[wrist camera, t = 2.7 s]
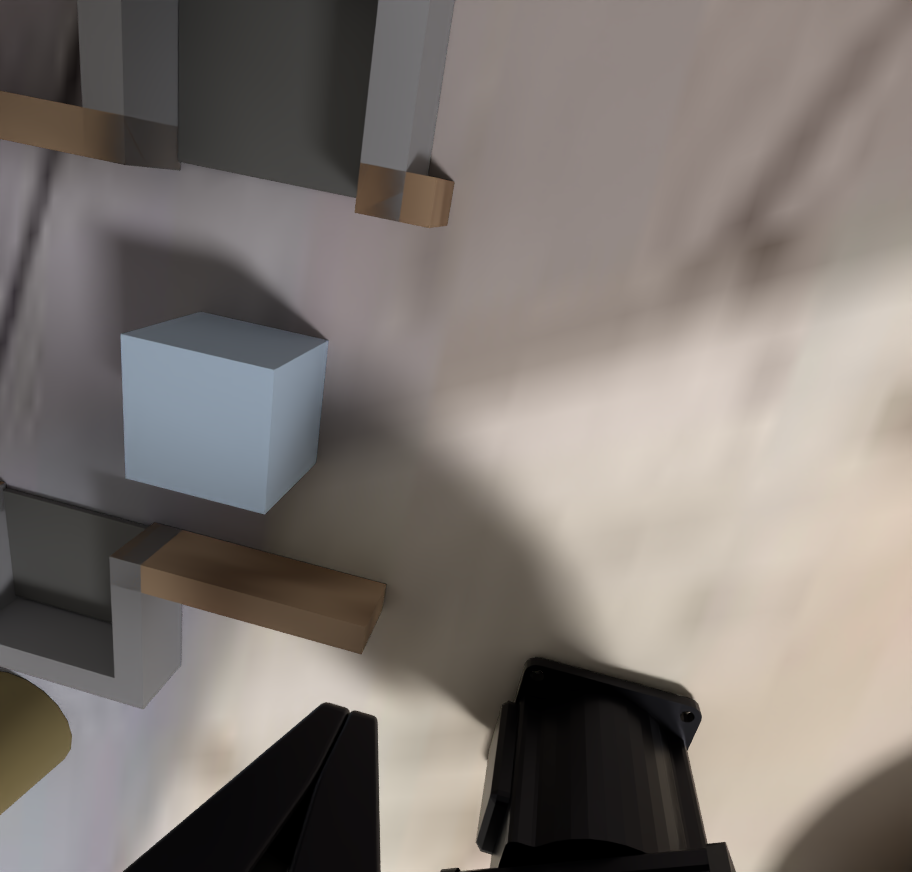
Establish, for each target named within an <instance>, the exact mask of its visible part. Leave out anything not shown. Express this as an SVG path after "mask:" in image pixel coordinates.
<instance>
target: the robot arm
mask: <svg viewBox="0 0 912 872" xmlns="http://www.w3.org/2000/svg"><path fill="white" fill-rule="evenodd" d="M535 670H539V671H541V672H543V673H540V674H539V673H535V672H533V671H535ZM685 711H688V712H690V713H688V714H683V713H682V712H685ZM701 719H702V715H701V711H700V708H699V705H698V703H697V702H696V701H695V700H692V699H690V698H687V697H683V696H679V695H676V694H672V693H668V692H665V691H661V690H657V689H654V688H650V687H646V686H643V685H639V684H635V683H632V682H628V681H624V680H621V679H617V678H613V677H610V676H606V675H602V674H599V673H595V672H591V671H588V670H584V669H580V668H577V667H573V666H569V665H566V664H562V663H558V662H555V661H551V660H547V659H544V658H538V657H535V658H531V659H529V660H528V661H527V662H526V664H525V666H524V669H523V673H522V676H521V680H520V683H519V686H518V690H517V693H516V697H515V700H514V702H511V701H507V702H506V703H504V704H503V705H502V707H501V710H500V714H499V717H498V721H497V724H496V728H495V731H494V735H493V738H492V742H491V745H490V749H489V756H488V762H487V769H486V776H485V783H484V790H483V797H482V804H481V810H480V817H479V824H478V831H477V838H476V843H477V845H478V847H479V849H480V851H482V852H485V853H488V854H492V856H491V865H490V868H488V869H478V870H467V871H460V869H459V868H451V869H442V870H441V871H440V872H736V871H735V868H734V865H733V862H732V859H731V856H730V853H729V850H728V848H727V845H726V842H721V843H711V844H707V839H706V834H705V830H704V825H703V821H702V816H701V812H700V807H699V802H698V798H697V793H696V789H695V784H694V780H693V775H692V771H691V766H690V761H689V757H688V752H687V750H688V748H689V746H690V744H691V742H692V739H693V737H694V735H695V733H696V731H697V729H698V726H699V724H700V722H701ZM123 872H381V870H380V819H379V768H378V722H377V718H376V717H375V716H373V715H370V714H366V713H363V712H359V711H352V712H351V713H350V712H349V710H348V709H347V708H345V707H342V706H339V705H335V704H332V703H327V702H326V703H323V704H321V705H320V706H318V707H317V708H316V709H315V710H314V711H312V712H311V713H310V714H309V715H308V716H306V717H305V718H304V719H303V720H302V721H301V722H299V723H298V724H297V725H296V726H295V727H293V728H292V729H291V730H290V731H289V732H287V733H286V734H285V735H284V736H283V737H282V738H280V739H279V740H278V741H277V742H276V743H274V744H273V745H272V746H271V747H270V748H269V749H267V750H266V751H265V752H264V753H263V754H261V755H260V756H259V757H258V758H257V759H256V760H254V761H253V762H252V763H251V764H250V765H248V766H247V767H246V768H245V769H244V770H242V771H241V772H240V773H239V774H238V775H237V776H235V777H234V778H233V779H232V780H231V781H229V782H228V783H227V784H226V785H225V786H224V787H222V788H221V789H220V790H219V791H218V792H216V793H215V794H214V795H213V796H212V797H211V798H209V799H208V800H207V801H206V802H205V803H203V804H202V805H201V806H200V807H199V808H198V809H196V810H195V811H194V812H193V813H192V814H190V815H189V816H188V817H187V818H186V819H184V820H183V821H182V822H181V823H180V824H179V825H177V826H176V827H175V828H174V829H173V830H171V831H170V832H169V833H168V834H167V835H166V836H164V837H163V838H162V839H161V840H160V841H158V842H157V843H156V844H155V845H154V846H153V847H151V848H150V849H149V850H148V851H147V852H145V853H144V854H143V855H142V856H141V857H139V858H138V859H137V860H136V861H135V862H134V863H132V864H131V865H130V866H129V867H128V868H126V869H125V870H124V871H123Z"/></svg>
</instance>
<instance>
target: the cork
mask: <svg viewBox="0 0 912 872" xmlns="http://www.w3.org/2000/svg"><path fill="white" fill-rule="evenodd" d="M71 740H72V735H71V731H70V728H69V725H68V721H67V720H66V718H65V716H64V715H63V713H62V712H61V710H60V709H59V707H58V705H57V704H56V703H55V702H54V701H53V700H52V699H51V698H50V697H49V696H48V695H47V694H46V693H45V692H44V691H42V690H41V689H39V688H38V687H36V686H35V685H33V684H32V683H30V682H29V681H27V680H25V679H23V678H20V677H18V676H15V675H13V674H10V673H7V672H0V815H1V814H2V813H3V812H4V811H5V810H6V809H8V808H9V807H10V806H11V805H12V804H13V803H14V802H16V801H17V800H18V799H19V798H20V797H21V796H22V795H24V794H25V793H26V792H27V791H28V790H29V789H30V788H32V787H33V786H34V785H35V784H36V783H37V782H38V781H40V780H41V779H42V778H43V777H44V776H45V775H47V774H48V773H49V772H50V771H51V770H52V769H53V768H55V767H56V766H57V765H58V764H59V763H60V762H61V761H63V760H64V759H65V757H66V756H67V754H68V752H69V751H70V749H71Z"/></svg>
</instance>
